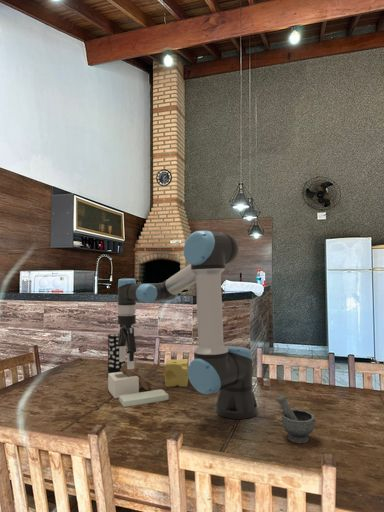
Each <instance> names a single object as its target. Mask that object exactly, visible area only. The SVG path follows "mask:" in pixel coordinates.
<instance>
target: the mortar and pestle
mask: <svg viewBox="0 0 384 512" xmlns="http://www.w3.org/2000/svg"><path fill="white" fill-rule="evenodd" d="M276 400H277V403H278V404H279V405H280V408H281V409H282V412H281V421H282V426H283V429H284V430H285V432H286V433H287V440H289V441H291V442H292V443H295V444H297V443H298V444H306V443H308V442H309V441H310V437H309V435H310V434H311V433H312V432H313V431H314V430H315V423H316V421H315V419H316V418H315V415H314V414H313V413H311V412H308V411H307V410H302V409H292V407H291V405H290V404H289V403H288V401H287V399H286V395H281V396H279V397H277V399H276Z"/></svg>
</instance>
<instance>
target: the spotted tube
mask: <svg viewBox="0 0 384 512" xmlns="http://www.w3.org/2000/svg"><path fill="white" fill-rule="evenodd" d="M118 339H119V332H118V333H109V334H107V374H108V373H115V372H121V371H120V369H121V367H122V366H123V365H124V364H125V365H126V361H122V362H119V347H120V346H119V344H118Z"/></svg>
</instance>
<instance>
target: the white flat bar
mask: <svg viewBox="0 0 384 512" xmlns="http://www.w3.org/2000/svg"><path fill="white" fill-rule="evenodd" d="M162 401H169V394H168V392H166V391H165V390H164V389H163V388H162V389H155V390H154V389H153V390H148V391H147V390H146V391H141V392H140V391H139V393H133V394H126V395H120V396H119V398H118V402H119V403H120V404H121V405H122V407H123V408H126V407H132V406H138V405H145V404H151V403H157V402H158V403H159V402H162Z"/></svg>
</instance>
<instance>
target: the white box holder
mask: <svg viewBox="0 0 384 512" xmlns="http://www.w3.org/2000/svg"><path fill="white" fill-rule="evenodd" d="M107 379H108V380H107V381H108V382H107V388H108V389H107V390H108V391H109V393H110V394H111V396H112V397H113V398H114V399H119V396H120V395H126V394H133V393H140V390H139V389H140V385H139V377H137V376H130V377H128V376H126V375H125V374H123V373H122V372H115V373H108V372H107Z"/></svg>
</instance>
